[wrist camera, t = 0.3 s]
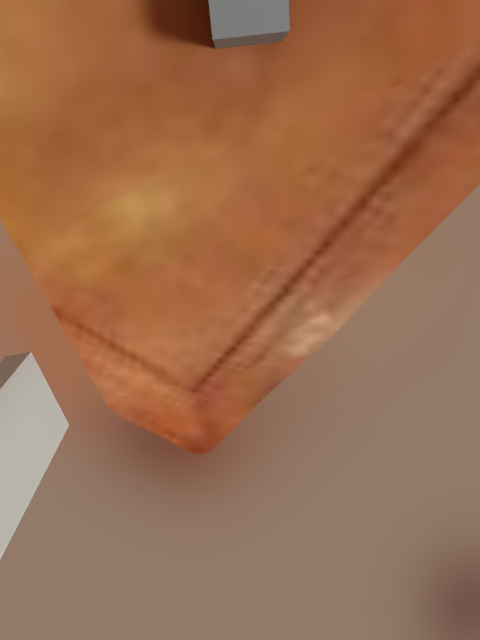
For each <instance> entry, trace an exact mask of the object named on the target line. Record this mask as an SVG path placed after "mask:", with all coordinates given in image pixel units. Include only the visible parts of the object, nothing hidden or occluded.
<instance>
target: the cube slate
mask: <svg viewBox="0 0 480 640" xmlns="http://www.w3.org/2000/svg"><path fill="white" fill-rule="evenodd" d="M208 2H209V11H210V21H211V30H212V40H213V42H214V45H215V48H216V49H218V48H227V47H236V46H245V45H254V44H262V43H271V42H280V41H283V39H284V38H285V37H286V35H287V34H288V33H289V31H290V25H289V0H208Z"/></svg>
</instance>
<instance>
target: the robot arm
mask: <svg viewBox="0 0 480 640" xmlns="http://www.w3.org/2000/svg"><path fill="white" fill-rule="evenodd" d="M68 426H69V424H68V422H67V420H66V418H65V417H64V415H63V413H62V411H61V409H60V407H59V405H58V403H57V401H56V399H55V397H54V395H53V393H52V391H51V390H50V388H49V386H48V384H47V382H46V380H45V378H44V376H43V374H42V372H41V370H40V369H39V366H38V365H37V363H36V361H35V359H34V357H33V355H32V353H31V352H27V353H22V354H17V355H11V356H6V357H5V358H4V359H3V360H2V361H1V362H0V559H1V557H2V555H3V553H4V551H5V549H6V547H7V545H8V543H9V541H10V539H11V537H12V535H13V533H14V531H15V530H16V528H17V526H18V524H19V522H20V520H21V518H22V516H23V514H24V512H25V510H26V508H27V506H28V504H29V502H30V500H31V498H32V496H33V494H34V493H35V490H36V489H37V487H38V485H39V483H40V481H41V479H42V477H43V475H44V473H45V471H46V469H47V467H48V465H49V463H50V461H51V459H52V457H53V455H54V453H55V451H56V450H57V448H58V445H59V444H60V442H61V440H62V438H63V436H64V434H65V432H66V430H67V428H68Z"/></svg>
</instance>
